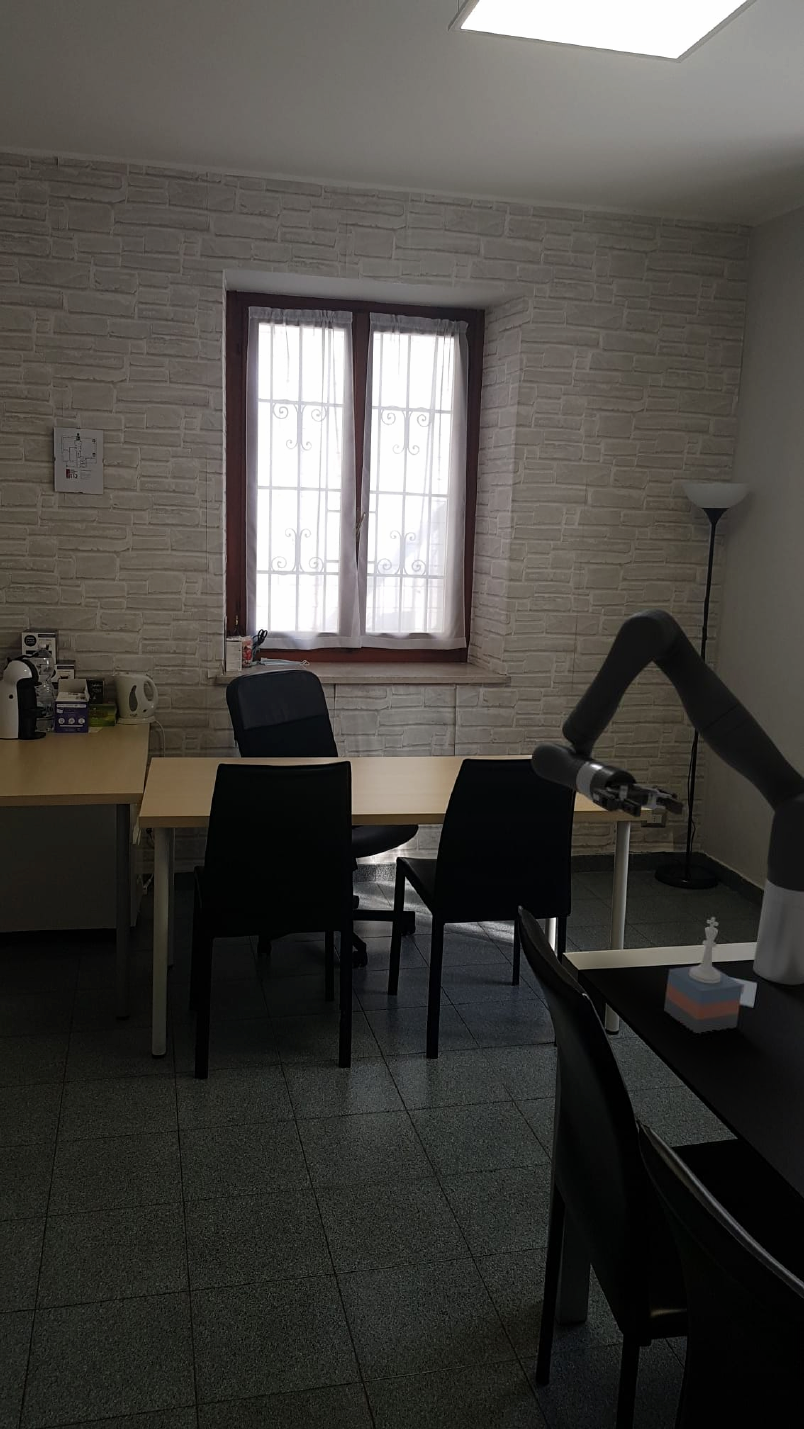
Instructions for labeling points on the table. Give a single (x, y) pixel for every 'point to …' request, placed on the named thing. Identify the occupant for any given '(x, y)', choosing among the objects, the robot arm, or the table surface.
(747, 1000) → the picture card
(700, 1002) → the brick tower
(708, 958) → the chess piece
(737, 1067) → the table surface
